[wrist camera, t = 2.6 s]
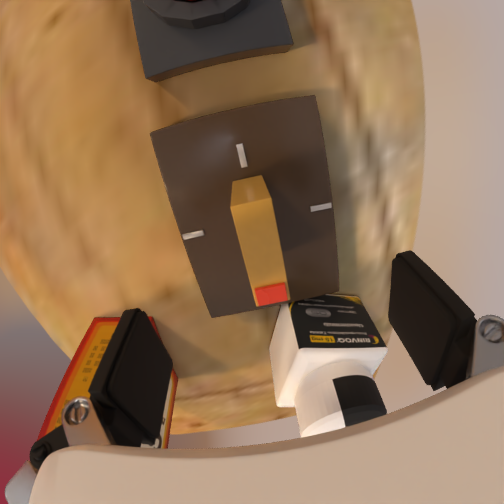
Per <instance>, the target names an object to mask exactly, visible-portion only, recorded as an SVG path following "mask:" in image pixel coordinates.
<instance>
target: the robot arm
mask: <svg viewBox="0 0 504 504" xmlns="http://www.w3.org/2000/svg"><path fill="white" fill-rule="evenodd" d="M474 315H475V314H474V313H473V311H472V310H471V309H470V308H469V307H468V306H467V305H466V304H465V303H464V302H463V301H462V300H461V299H460V297H459V296H458V295H457V294H456V293H455V292H454V291H453V290H452V289H451V288H450V287H449V286H448V285H447V284H446V283H445V282H444V281H443V280H442V279H441V278H440V277H439V276H438V275H437V274H436V273H435V272H434V271H433V270H432V269H431V268H430V267H429V266H428V265H427V264H425V263H424V262H423V261H422V260H421V259H420V258H419V257H418V256H417V255H416V254H415V253H414V252H412V251H406V252H402V253H398V254H397V255H396V258H394V259H393V261H392V276H391V290H390V302H389V312H388V318H389V321H390V324H391V325H392V327H393V328H394V330H395V332H396V333H397V335H398V336H399V338H400V340H401V341H402V343H403V345H404V347H405V348H406V350H407V351H408V353H409V355H410V357H411V358H412V360H413V362H414V364H415V365H416V367H417V369H418V370H419V372H420V374H421V376H422V378H423V380H424V381H425V383H426V384H427V385H431V387H432V389H433V391H435V390H438V389H440V388H442V387H444V386H446V388H447V389H446V390H444V391H442V392H440V393H438V394H436V395H433V396H431V397H429V398H427V399H424V400H422V401H420V402H417V403H414V404H412V405H410V406H407V407H405V408H402V409H400V410H397V411H394V412H391V413H389V414H386V415H383V416H380V417H377V418H374V419H371V420H368V421H365V422H362V423H358V424H355V425H351V426H348V427H344V428H341V429H337V430H333V431H329V432H325V433H321V434H316V435H312V436H307V437H302V438H297V439H292V440H285V441H279V442H273V443H266V444H258V445H250V446H239V447H227V448H210V449H162V448H141V443H142V444H148V445H155V441H156V438H158V437H159V435H160V430H161V425H162V419H163V414H164V408H165V403H166V398H167V393H168V387H169V383H170V378H171V373H172V368H173V363H172V359H171V357H170V356H169V354H168V352H167V350H166V349H165V347H164V345H163V343H162V342H161V340H160V338H159V336H158V335H157V333H156V331H155V329H154V327H153V325H152V324H151V322H150V320H149V318H148V316H147V314H146V313H145V312H144V311H141V310H140V309H139V308H136V309H130V310H125V311H124V312H123V314H122V316H121V318H120V320H119V322H118V325H117V327H116V329H115V331H114V333H113V335H112V337H111V339H110V341H109V343H108V345H107V348H106V350H105V352H104V354H103V356H102V359H101V361H100V363H99V365H98V368H97V370H96V372H95V375H94V377H93V379H92V382H91V384H90V387H89V389H88V392H89V393H90V394H91V395H90V398H87V397H85V396H78V397H75V398H73V399H71V400H70V401H69V402H68V403H67V404H66V405H65V406H64V408H63V410H62V414H61V420H62V424H61V425H60V426H58V427H57V428H55V429H54V430H52V431H51V432H49V433H48V434H46V435H45V436H43V437H42V438H40V439H39V440H38V441H36V442H35V443H34V445H33V446H32V448H31V451H30V461H31V462H30V461H28V460H27V461H26V462H25V463H24V465H23V466H22V467H21V468H20V469H19V470H18V472H17V473H16V474H15V475H14V476H13V478H12V479H11V480H10V481H9V482H8V484H7V485H6V488H5V497H6V500H7V502H8V503H9V504H504V320H503V319H502V318H500V317H498V316H495V315H486V316H482V317H481V318H479V320H478V321H477V320H476V319H475V317H474Z"/></svg>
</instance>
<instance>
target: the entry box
mask: <svg viewBox="0 0 504 504" xmlns="http://www.w3.org/2000/svg"><path fill="white" fill-rule="evenodd" d="M130 2H131V8H132V14H133V19H134V25H135V30H136V35H137V40H138V45H139V50H140V55H141V60H142V64H143V69H144V73H145V78H146V79H149V80H151V81H154V82H158V81H161V80H164V79H167V78H170V77H173V76H176V75H180V74H183V73H186V72H190V71H193V70H197V69H200V68H204V67H208V66H212V65H216V64H220V63H225V62H229V61H234V60H239V59H244V58H249V57H255V56H261V55H268V54H275V53H282V52H287V51H288V50H289V49H290V48H291V46H292V45H293V41H292V37H291V33H290V30H289V26H288V23H287V19H286V16H285V13H284V9H283V6H282V3H281V0H130Z"/></svg>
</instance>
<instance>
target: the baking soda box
mask: <svg viewBox="0 0 504 504" xmlns="http://www.w3.org/2000/svg"><path fill="white" fill-rule="evenodd" d="M120 318H121V317H114V318H94V320H93V321H92V323H91V325H90V327H89V328H88V330H87V332H86V334H85V336H84V338H83V339H82V341H81V343H80V345H79V347H78V349H77V351H76V353H75V355H74V357H73V359H72V361H71V363H70V365H69V367H68V369H67V371H66V373H65V375H64V377H63V379H62V381H61V383H60V386H59V388H58V390H57V392H56V395H55V397H54V399H53V401H52V404H51V406H50V409H49V411H48V413H47V415H46V418H45V420H44V423H43V426H42V428H41V431H40V434H39V436H38V439H37V441H38V440H39V439H40V438H42V437H43V436H45V435H46V434H48V433H49V432H51V431H52V430H54V429H55V428H57V427H58V426H60V425H61V424H62V420H61V414H62V410H63V408H64V406H65V405H66V404H67V403H68V402H69V401H70V400H71V399H73V398H75V397H78V396H85V397H87V398H90V395H91V394H90V393H89V392H88V389H89V387H90V384H91V382H92V379H93V377H94V375H95V372H96V370H97V368H98V365H99V363H100V361H101V359H102V356H103V354H104V352H105V350H106V348H107V345H108V343H109V341H110V339H111V337H112V335H113V333H114V331H115V329H116V327H117V325H118V322H119V320H120ZM148 318H149V320H150V322H151V324H152V325H153V327H154V329H155V331H156V333H157V335H158V336H159V333H158V331H157V328H156V325H155V323H154V320H153V317H148ZM159 338H160V336H159ZM160 340H161V338H160ZM161 342H162V341H161ZM177 383H178V378H177V376H176V374H175V372H174V369H173V368H172V373H171V378H170V383H169V387H168V393H167V398H166V403H165V408H164V414H163V419H162V425H161V430H160V435H159V437H158V438H156V441H155V445H148V444H142V443H141V448H162V449H168V442H169V435H170V428H171V421H172V414H173V407H174V401H175V395H176V389H177Z"/></svg>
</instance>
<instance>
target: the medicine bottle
mask: <svg viewBox="0 0 504 504" xmlns="http://www.w3.org/2000/svg"><path fill="white" fill-rule="evenodd" d="M269 351H270V359H271V367H272V375H273V382H274V390H275V398H276V404H277V406H279V407H295V408H296V414H297V420H298V425H299V431H300V437H301V438H302V437H307V436H312V435H316V434H321V433H325V432H329V431H333V430H337V429H341V428H344V427H348V426H351V425H355V424H358V423H362V422H365V421H368V420H371V419H374V418H377V417H380V416H383V415H386V413H387V410H386V408H385V405H384V403H383V401H382V398H381V396H380V393H379V391H378V388H377V386H376V383H375V381H374V379H373V376H372V375H373V374H374V372H375V371H376V369H377V368H378V366H379V365H380V363H381V362H382V360H383V358H384V357H385V355H386V354H387V351H388V349H387V347H386V345H385V343H384V341H383V340H382V338H381V336H380V334H379V332H378V330H377V329H376V327H375V325H374V323H373V321H372V320H371V318H370V316H369V314H368V313H367V311H366V309H365V307H364V306H363V304H362V302H361V300H360V299H359V297H357V296H344V295H331V294H326V295H322V296H317V297H313V298H309V299H304V300H300V301H295V302H291V303H286V304H281V308H280V311H279V315H278V319H277V322H276V326H275V329H274V333H273V336H272V340H271V343H270V347H269Z"/></svg>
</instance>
